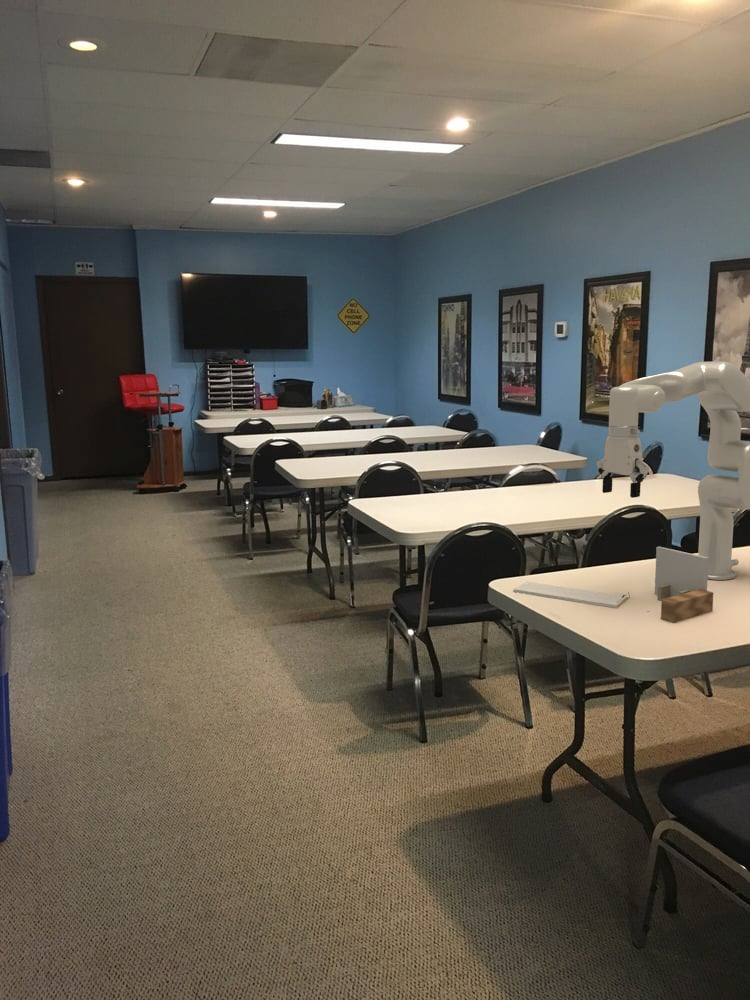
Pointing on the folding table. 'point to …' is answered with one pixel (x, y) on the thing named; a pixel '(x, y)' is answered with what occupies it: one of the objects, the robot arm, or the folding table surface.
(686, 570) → the panel
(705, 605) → the rail
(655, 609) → the folding table surface
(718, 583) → the folding table surface
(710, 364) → the robot arm
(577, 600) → the grey flat board
